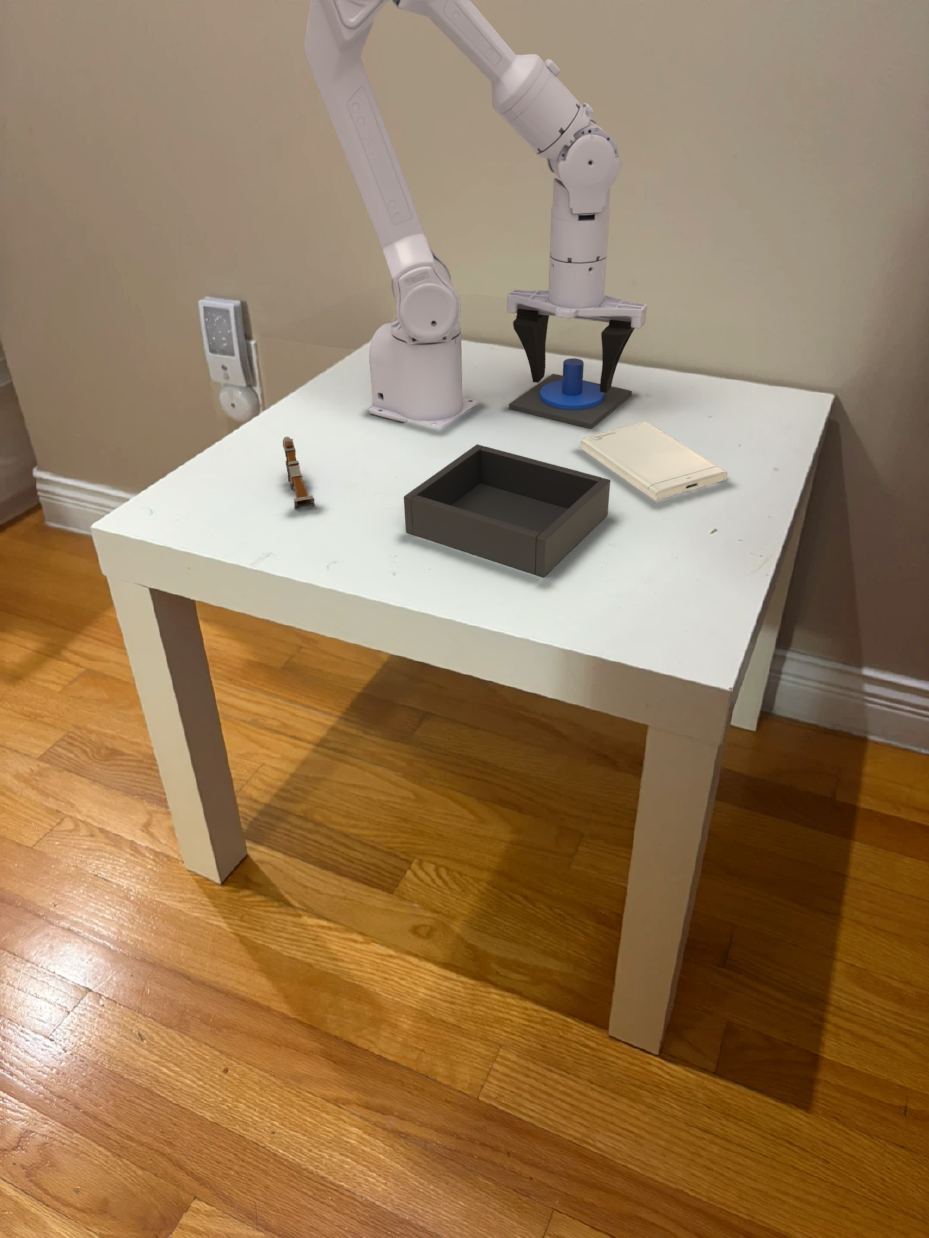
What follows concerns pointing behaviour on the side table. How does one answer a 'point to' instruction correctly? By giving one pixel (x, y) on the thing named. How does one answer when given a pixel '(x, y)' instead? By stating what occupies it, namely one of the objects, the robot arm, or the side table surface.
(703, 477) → the hard drive
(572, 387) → the lid
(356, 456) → the side table surface
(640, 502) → the side table surface
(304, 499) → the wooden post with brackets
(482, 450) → the tray
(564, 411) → the mat
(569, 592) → the side table surface
